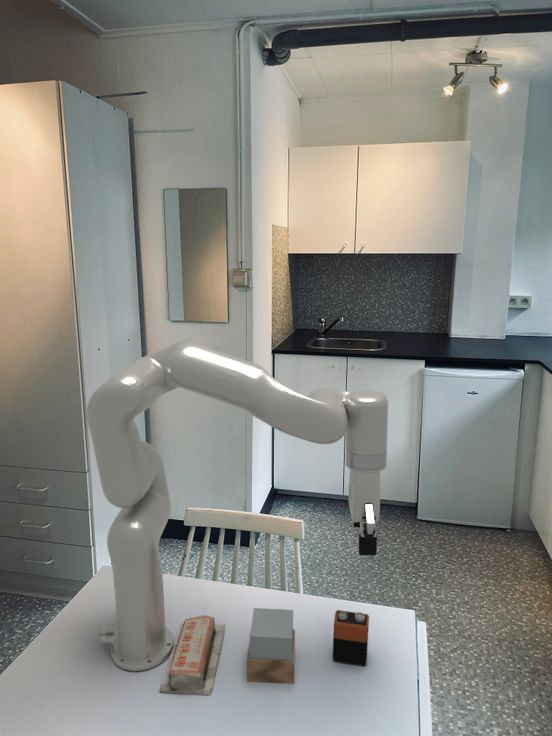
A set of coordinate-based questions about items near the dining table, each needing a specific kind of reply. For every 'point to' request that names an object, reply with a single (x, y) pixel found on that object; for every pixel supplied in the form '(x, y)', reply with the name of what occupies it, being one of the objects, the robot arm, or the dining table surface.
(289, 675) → the bottom block
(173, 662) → the packaged product
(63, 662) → the dining table surface
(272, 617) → the top block
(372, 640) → the dining table surface
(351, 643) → the battery
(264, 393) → the robot arm
